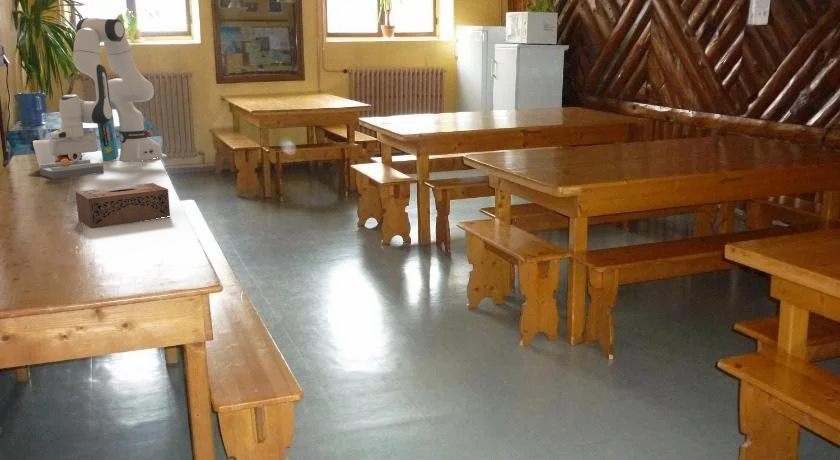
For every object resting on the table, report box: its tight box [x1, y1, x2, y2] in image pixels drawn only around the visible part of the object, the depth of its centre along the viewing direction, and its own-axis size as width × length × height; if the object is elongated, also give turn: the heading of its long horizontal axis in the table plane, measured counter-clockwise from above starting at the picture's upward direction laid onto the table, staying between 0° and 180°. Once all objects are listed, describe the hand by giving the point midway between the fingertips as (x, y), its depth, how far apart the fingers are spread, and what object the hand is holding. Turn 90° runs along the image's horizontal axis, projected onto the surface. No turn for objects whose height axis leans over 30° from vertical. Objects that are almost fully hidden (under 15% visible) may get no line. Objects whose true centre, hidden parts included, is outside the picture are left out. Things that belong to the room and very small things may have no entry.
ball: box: [59, 159, 71, 167], centre depth 354 cm, size 4×4×4 cm
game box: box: [96, 101, 120, 162], centre depth 399 cm, size 20×6×27 cm, turn 17°
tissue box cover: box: [75, 182, 171, 230], centre depth 270 cm, size 26×14×10 cm, turn 127°
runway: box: [39, 158, 105, 180], centre depth 356 cm, size 22×14×4 cm, turn 135°
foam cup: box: [32, 139, 56, 169], centre depth 367 cm, size 10×9×13 cm
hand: (75, 163), depth 357 cm, fingers closed
